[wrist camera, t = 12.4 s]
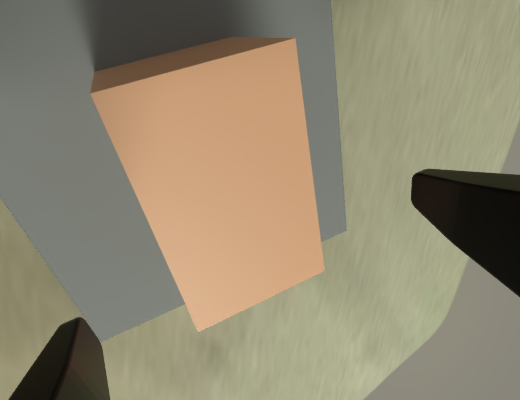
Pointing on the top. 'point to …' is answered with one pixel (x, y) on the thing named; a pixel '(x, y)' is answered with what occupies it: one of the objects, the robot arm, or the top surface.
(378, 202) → the top surface
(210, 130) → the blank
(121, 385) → the top surface
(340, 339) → the top surface
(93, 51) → the grey mat
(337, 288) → the top surface
